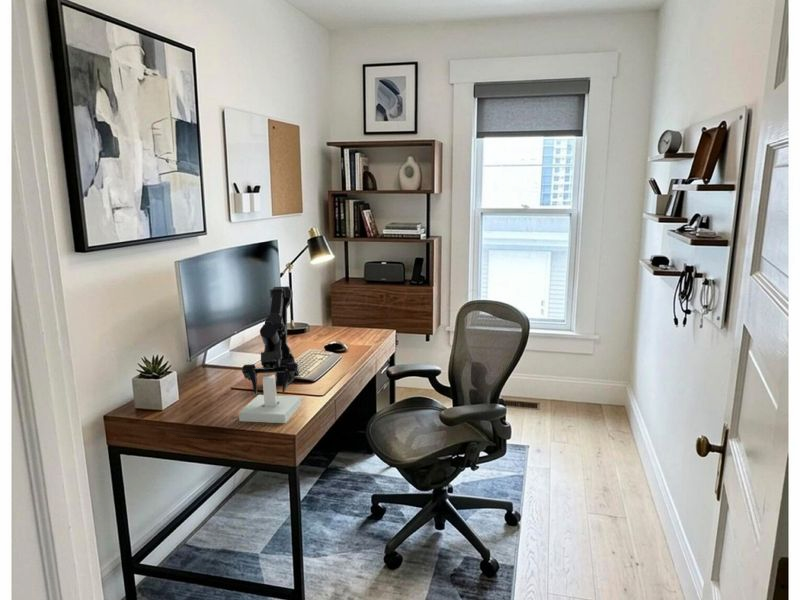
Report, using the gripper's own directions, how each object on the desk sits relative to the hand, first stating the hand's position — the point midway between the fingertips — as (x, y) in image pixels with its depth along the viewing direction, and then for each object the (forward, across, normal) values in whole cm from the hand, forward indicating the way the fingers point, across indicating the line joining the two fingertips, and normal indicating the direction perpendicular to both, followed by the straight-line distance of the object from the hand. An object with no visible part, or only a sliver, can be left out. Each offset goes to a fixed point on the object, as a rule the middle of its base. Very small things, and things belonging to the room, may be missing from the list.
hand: (269, 393), depth 180 cm
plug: (+4, 0, +6) cm, 8 cm away
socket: (+4, 0, +6) cm, 8 cm away
